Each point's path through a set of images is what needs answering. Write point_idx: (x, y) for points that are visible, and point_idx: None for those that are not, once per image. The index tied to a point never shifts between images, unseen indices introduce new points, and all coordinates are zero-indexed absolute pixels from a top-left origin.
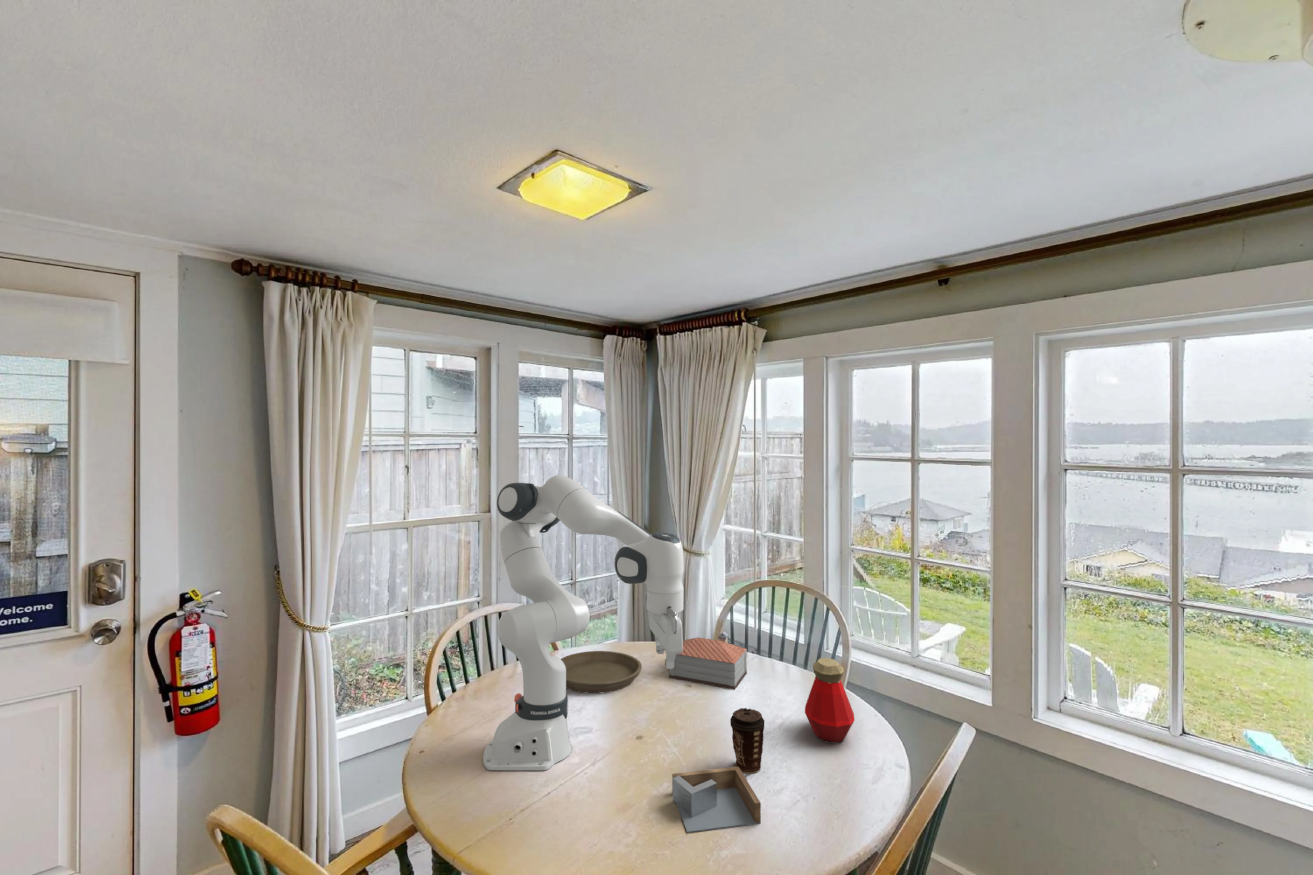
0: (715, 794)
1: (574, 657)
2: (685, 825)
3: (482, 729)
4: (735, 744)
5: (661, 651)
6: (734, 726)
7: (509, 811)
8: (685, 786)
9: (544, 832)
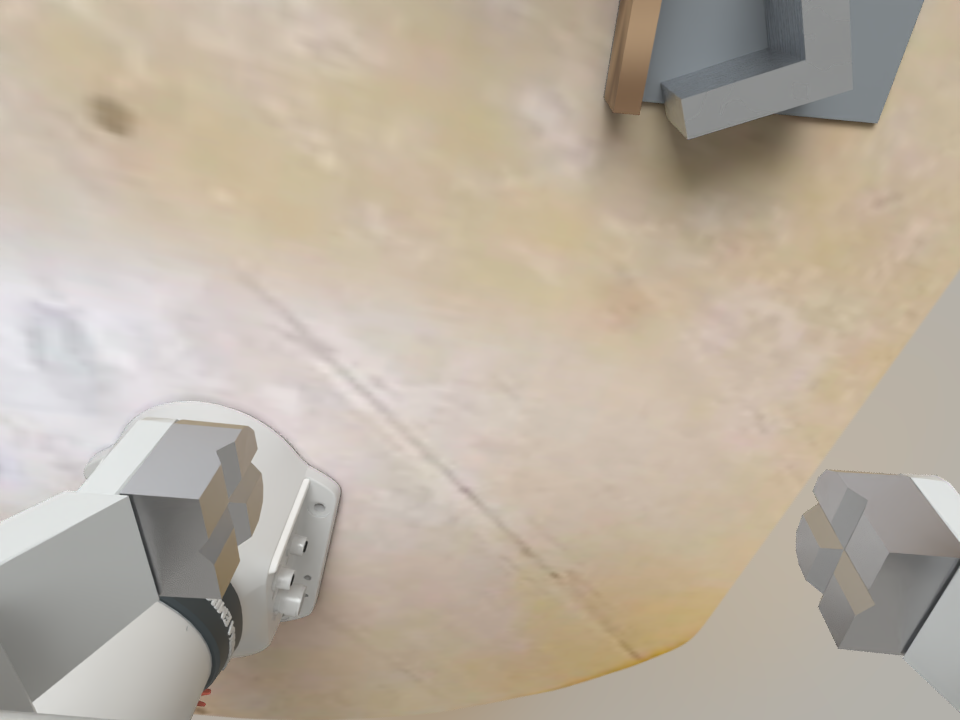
0: None
1: None
2: (839, 117)
3: None
4: None
5: (238, 480)
6: None
7: (522, 575)
8: (783, 99)
9: (645, 518)
